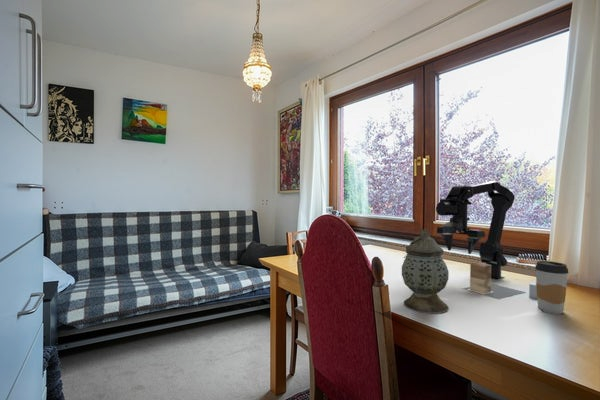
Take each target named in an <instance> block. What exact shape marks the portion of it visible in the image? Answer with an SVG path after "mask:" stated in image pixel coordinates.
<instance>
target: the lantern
mask: <svg viewBox="0 0 600 400" xmlns="http://www.w3.org/2000/svg"><path fill="white" fill-rule="evenodd" d="M413 238H414V239H413V241H411V242H410V244H409V245H407V246H405V248H406V249H405V250H406V251H405V253H406V254H405V256H403V259H404V260H403V263H402V265H401V277H402V280H403V283H404V285H405V286H406V287H407V288H408V289H409V290H410V291H411V292H412V294H411V295H410V296H409V297H408V298H406V299H405V300H404V301H403V303H404V305H403V306H405V307H406V308H407V309H409V310H410V311H411V310H412V311H414V312H417V313H423V314H428V315H429V314H430V315H440V314H445V313H448V311H449V306H448V305H447V304H446V302H444V300H442V299H441V298H440V297H439V294H438V293H440V292H441V291H442V290H444V289H445V288H446V285H447V283H448V281H449V274H450V273H449V269H448V266H447V264H446V262H445V261H444V259H443V258H442V256H443V255H444V252H445V251H444V249H443V248H442V247H441V246H440V245H439V244H438V243H437V242H436V240H435V239H434V238H433V237H431V236H430V232H429V230H427V229H422V230H421V232H420V234H419V236H416V237H413Z"/></svg>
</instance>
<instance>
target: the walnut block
mask: <svg viewBox="0 0 600 400" xmlns="http://www.w3.org/2000/svg"><path fill="white" fill-rule="evenodd" d="M469 266H470V267H469V268H470V270H469V271H470V272H469V278H470V277H473V278H477V279H482V280H485V279H490V278H491V265H489V264H486V263H483V262H472V263H470V265H469ZM491 279H492V278H491Z"/></svg>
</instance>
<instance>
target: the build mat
mask: <svg viewBox="0 0 600 400" xmlns="http://www.w3.org/2000/svg"><path fill="white" fill-rule="evenodd" d="M461 289H462V290H465V291H468V292H472V293H475V294H479V295H483V296H486V297H490V298H493V299H496V300H501V299H506V298H510V297H514V296H518V295H522V294H526V293H527V292H526V291H522V290H520V289H519V290H518V289H515V288H511V287H508V286H507V287H506V286H503V285H498V284H495V283H491V292H487V293H480V292H476V291H472V290H470V286H467V287H464V288H461Z"/></svg>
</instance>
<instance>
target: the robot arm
mask: <svg viewBox="0 0 600 400" xmlns="http://www.w3.org/2000/svg"><path fill="white" fill-rule="evenodd" d="M484 193H487V197H489V198H490V199H491V201H490V203H491V206H492V208H493V211H492V216H491V220H490V226H489V229H488V233H487V238H486V232H485V231H484V229H470V227H468V221H470V217H468V213H469V212H468V209H469V207H468V206H470V205H473V204H472V202H471V201H470V200H469V199H470V198H473V197H474V196H475V195H478V194H484ZM515 197H516V196H515V194H514V193H513V192H512V191H511V190H510V189H509V188H508V187H505V186H503V185H501V184H500V182H498V181H487V182H483V183H479V184H473V185H454V186H451V188H450V190H449V192H448V193H447V196H446V197H445V199H444V198H442V199H441V198H440V199H439V202H438V203H437V204H436V207H435V211H436V213H437V214H438V215H439V216H444V217H445V216H452V217H450V218H449V221H448V222H446V223H444V224H442V226H437V228H436V234H438V235H439V236H441V237H442V238H443V240H444V242H445V245H446V248H447V250H448V251H451V250H452V245H453V237H454V234H456V235H458V234H459V235H467V237H466V239H467V254H468V255H471V254H472V252H473V251H474V248H475V247H476V245H477V243H478V242H479V240H482V239H483V238H486V240H485V241H484V242H481V243H480V247H479V249H478V252H479V253H478V254H479V257H480V261H481V263H483V264H489V265H491V280H492V279H493V280H502V279H505V278H506V277H505V276H502V267H505V266H506V267H507V265H508V259H507V258H506V257H505V256H504V254H503V249H504V248H503V246H502V244H501V238H502V235H503V230H504V226H505V220H506V215H507V212H508V210H510V209H511V208H512V206H513V205H514V201H515Z"/></svg>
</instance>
